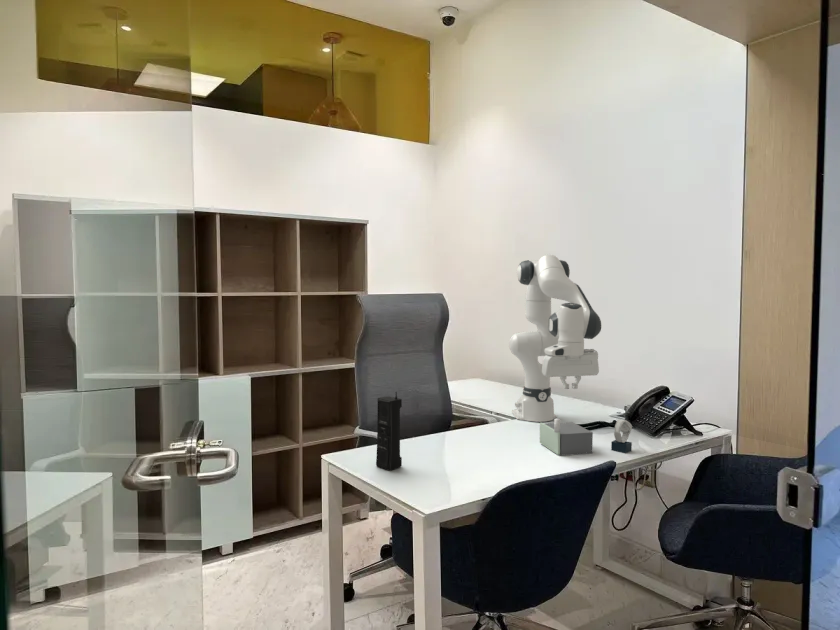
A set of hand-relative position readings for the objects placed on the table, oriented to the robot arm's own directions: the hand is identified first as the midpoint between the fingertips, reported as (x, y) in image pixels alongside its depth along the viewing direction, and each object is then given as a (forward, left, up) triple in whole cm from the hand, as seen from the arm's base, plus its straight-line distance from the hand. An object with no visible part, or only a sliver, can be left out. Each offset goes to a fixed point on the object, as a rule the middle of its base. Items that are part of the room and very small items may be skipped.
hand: (570, 388), depth 191 cm
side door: (-6, -5, -23) cm, 24 cm away
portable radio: (+1, -65, -23) cm, 69 cm away
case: (-6, +2, -23) cm, 24 cm away
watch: (+1, +20, -23) cm, 31 cm away
